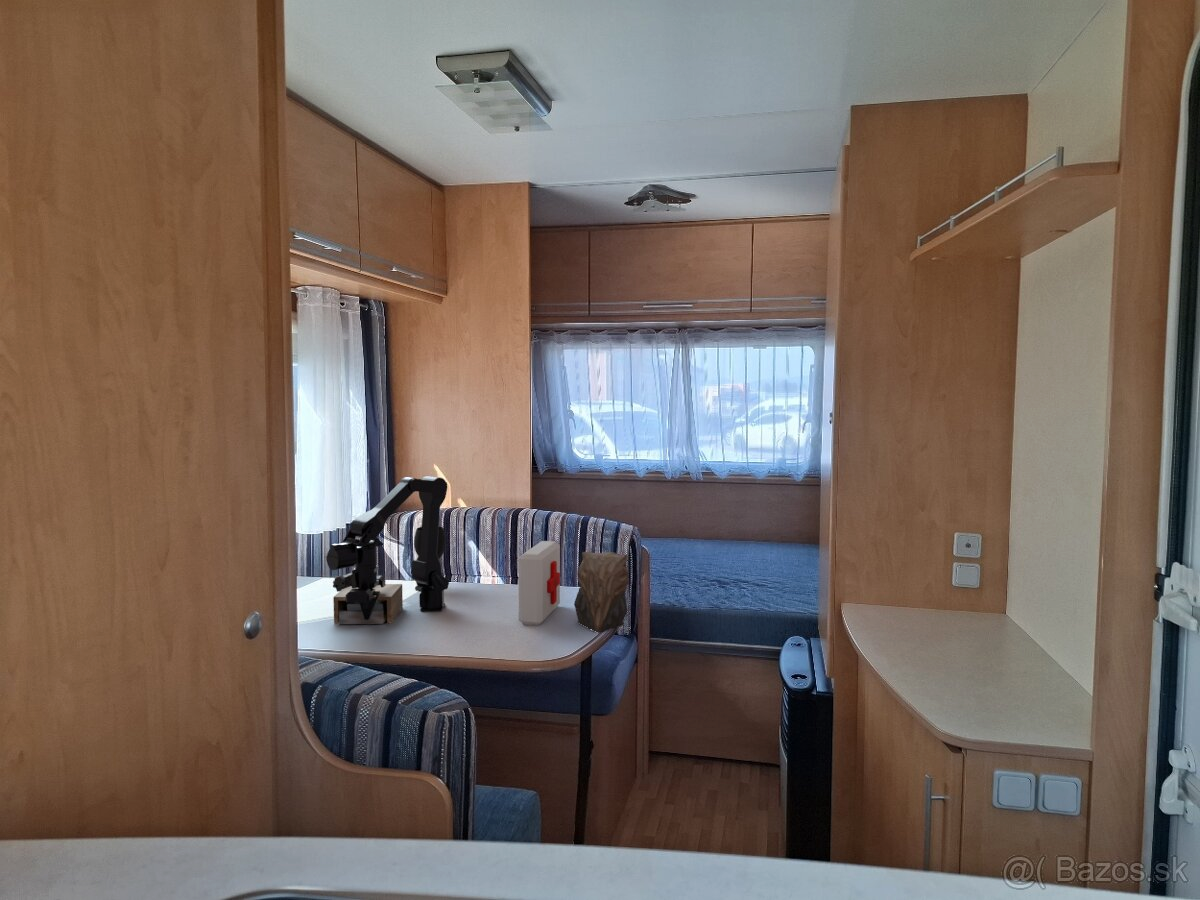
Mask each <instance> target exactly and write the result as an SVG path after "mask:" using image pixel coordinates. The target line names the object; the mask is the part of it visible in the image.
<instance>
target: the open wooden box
mask: <svg viewBox="0 0 1200 900" xmlns="http://www.w3.org/2000/svg"><path fill="white" fill-rule="evenodd" d="M352 589H358V588H352V586H350V587H348V588H345V589H342V590H341V591H339V592H337V593H336V594H335V595H334V596H333V598H332V600H333V624H339V611H347V604H348V603H347V602H346V594H347V593H348V592H349V591H350V590H352ZM373 589H375V591H380V594H379V596H378V598H377V600H387V619H386V621H387V624H388V623H389V624H392V623H393V621H394V620H395V619H396V618H397V617H398V615H399V614H400V613H401V612H402V610H403V609H404V608H403V607H404V605H403V604H404V603H403V602H404V601H403V583H385V586H384V587H381V585H377V586H376V587H375V588H373Z"/></svg>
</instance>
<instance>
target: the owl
mask: <svg viewBox="0 0 1200 900" xmlns="http://www.w3.org/2000/svg"><path fill="white" fill-rule="evenodd" d="M581 556H582V561H581V563H580V565H579V567H578V570H577V581H578V584H579V588H578V592H577V594H576V597H575V601H574V604H573V607H574V609H575V614H576V617H577V624H578V623H580V624H582V625H581V626H583V625H584V626H586V627H588V628H589V629H592V630H594V631H596V632H598V633H597V634H600V633H603V632H607V631H609V630H611V629H615V628H617V627H621V626H623V625H624V624H625V623H624V619H625V617H626V615H627V613H628V607H627V599H626V591H627V587H628V585H629V569H628V567H627V566H628V565H627V561H628V554H620V553H617V552H614V551H606V552H592V551H582V553H581ZM580 624H579V625H580ZM586 627H585V628H586ZM588 628H587V629H588ZM589 629H588V630H589ZM594 631H593V632H594ZM596 632H595V633H596Z"/></svg>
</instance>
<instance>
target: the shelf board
mask: <svg viewBox="0 0 1200 900" xmlns="http://www.w3.org/2000/svg"><path fill="white" fill-rule="evenodd" d="M386 621H387V612H386V613H385V614H384V610H373V611H372V613H371V616H370V618H369V619H368V620H365V619H364V616H363V613H362V610H357V611H339V623H338V625H383V624H384V623H385V622H386Z"/></svg>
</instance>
